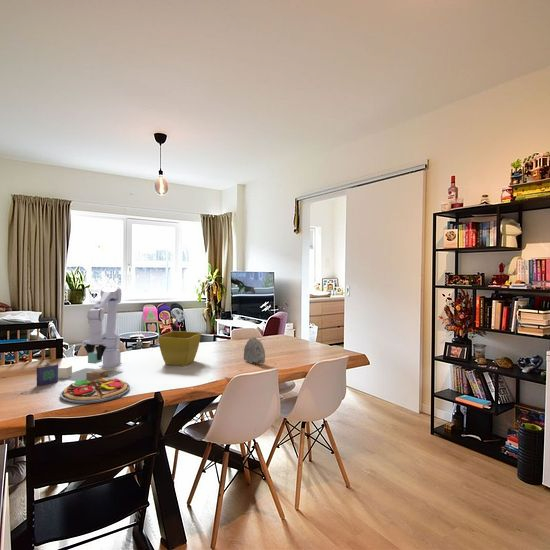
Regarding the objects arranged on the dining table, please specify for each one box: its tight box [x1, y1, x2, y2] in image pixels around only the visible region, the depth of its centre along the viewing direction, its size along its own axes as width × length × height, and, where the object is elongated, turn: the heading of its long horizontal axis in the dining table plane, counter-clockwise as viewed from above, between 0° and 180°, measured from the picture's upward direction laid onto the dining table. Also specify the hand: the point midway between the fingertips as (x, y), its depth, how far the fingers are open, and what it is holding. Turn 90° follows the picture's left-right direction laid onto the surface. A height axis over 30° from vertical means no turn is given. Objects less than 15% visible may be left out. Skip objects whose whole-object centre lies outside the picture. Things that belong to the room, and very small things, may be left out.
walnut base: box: [86, 368, 109, 380], centre depth 182 cm, size 7×7×3 cm
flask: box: [36, 361, 59, 387], centre depth 172 cm, size 9×3×11 cm, turn 144°
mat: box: [58, 367, 123, 382], centre depth 186 cm, size 20×24×1 cm
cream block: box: [58, 365, 73, 378], centre depth 183 cm, size 4×4×5 cm
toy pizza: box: [59, 377, 131, 404], centre depth 161 cm, size 28×28×4 cm
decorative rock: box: [243, 337, 266, 365], centre depth 216 cm, size 16×7×15 cm, turn 36°
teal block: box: [87, 350, 103, 364], centre depth 183 cm, size 4×4×5 cm
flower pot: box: [157, 330, 202, 367], centre depth 214 cm, size 19×19×17 cm
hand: (95, 359), depth 183 cm, fingers closed on teal block, 4 cm apart
